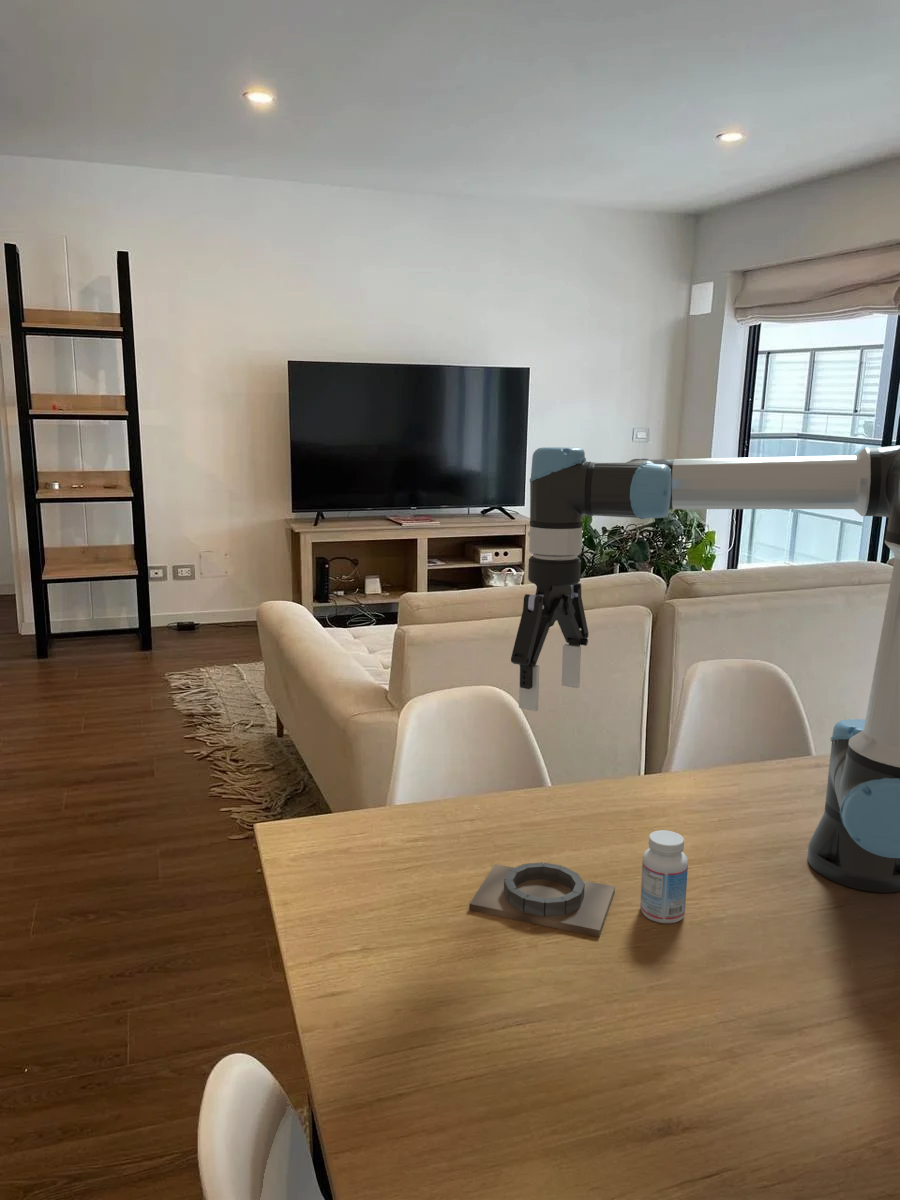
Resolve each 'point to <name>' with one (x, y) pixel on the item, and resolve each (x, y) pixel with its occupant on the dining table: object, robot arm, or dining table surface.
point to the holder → (544, 897)
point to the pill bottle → (664, 878)
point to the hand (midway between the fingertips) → (550, 697)
